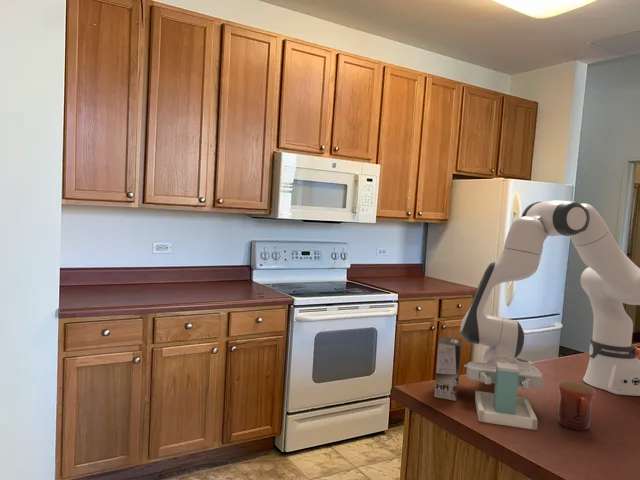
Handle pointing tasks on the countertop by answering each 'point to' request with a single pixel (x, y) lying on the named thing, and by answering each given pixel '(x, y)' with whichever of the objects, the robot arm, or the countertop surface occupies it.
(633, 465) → the countertop surface
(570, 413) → the mug
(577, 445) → the countertop surface
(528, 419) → the tray
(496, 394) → the tea tin
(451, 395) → the coffee box
